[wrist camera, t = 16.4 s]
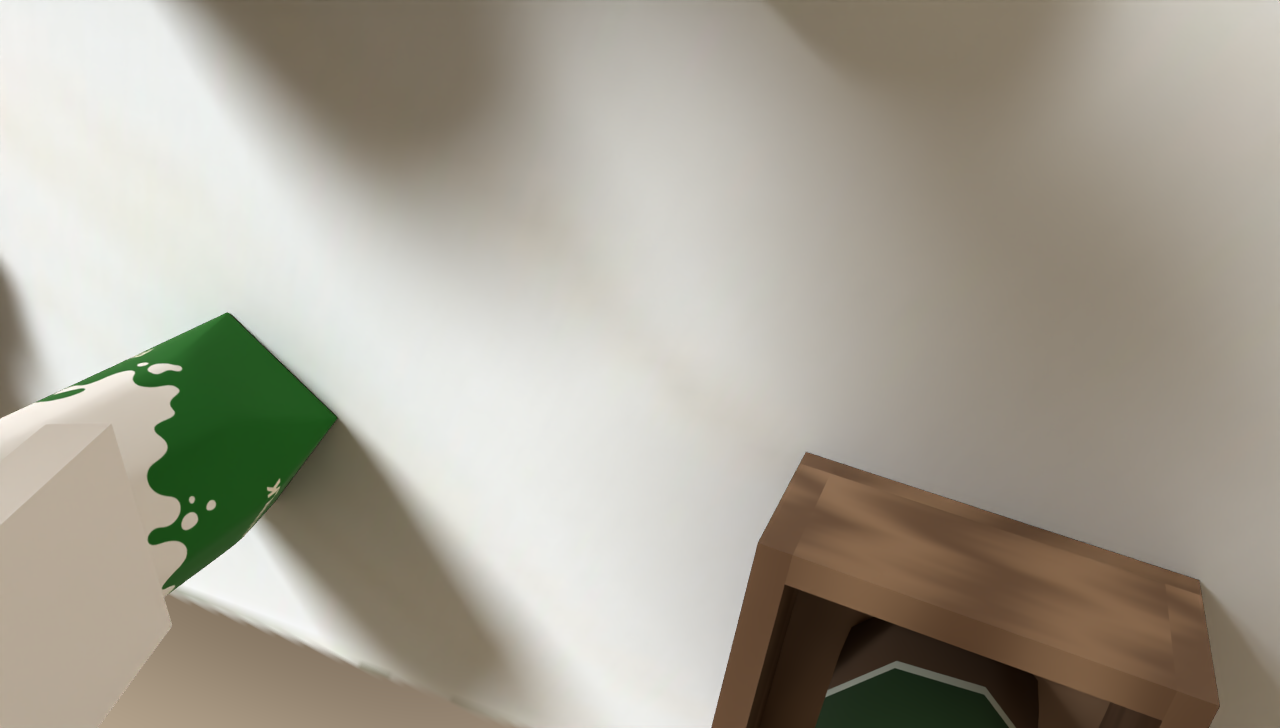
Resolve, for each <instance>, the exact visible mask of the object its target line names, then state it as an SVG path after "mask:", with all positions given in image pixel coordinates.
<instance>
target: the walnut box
mask: <svg viewBox="0 0 1280 728" xmlns="http://www.w3.org/2000/svg"><path fill="white" fill-rule="evenodd" d="M872 617H876V618H879V619H882V620H885V621H888V622H890V623H893V624H896V625H899V626H901V627H904V628H907V629H910V630H912V631H915V632H918V633H921V634H924V635H926V636H929V637H932V638H935V639H937V640H940V641H943V642H946V643H948V644H951V645H954V646H957V647H959V648H962V649H965V650H968V651H971V652H973V653H976V654H979V655H982V656H984V657H987V658H990V659H993V660H995V661H998V662H1001V663H1004V664H1007V665H1009V666H1012V667H1015V668H1018V669H1020V670H1023V671H1026V672H1029V673H1031V674H1033V675H1034V676H1035V678H1036V679H1037V680H1038V697H1039V719H1038V728H1209V726H1210V724H1211V722H1212V720H1213V718H1214V716H1215V714H1216V712H1217V711H1218V709H1219V707H1220V704H1219V698H1218V691H1217V685H1216V679H1215V673H1214V667H1213V661H1212V655H1211V649H1210V643H1209V637H1208V631H1207V625H1206V618H1205V612H1204V606H1203V600H1202V594H1201V588H1200V582H1199V580H1197V579H1194V578H1191V577H1188V576H1185V575H1182V574H1179V573H1175V572H1172V571H1169V570H1166V569H1163V568H1160V567H1157V566H1154V565H1151V564H1148V563H1145V562H1142V561H1139V560H1136V559H1133V558H1129V557H1126V556H1123V555H1120V554H1117V553H1114V552H1111V551H1108V550H1105V549H1102V548H1099V547H1096V546H1093V545H1090V544H1087V543H1083V542H1080V541H1077V540H1074V539H1071V538H1068V537H1065V536H1062V535H1059V534H1056V533H1053V532H1050V531H1047V530H1044V529H1040V528H1037V527H1034V526H1031V525H1028V524H1025V523H1022V522H1019V521H1016V520H1013V519H1010V518H1007V517H1004V516H1001V515H998V514H994V513H991V512H988V511H985V510H982V509H979V508H976V507H973V506H970V505H967V504H964V503H961V502H958V501H955V500H952V499H948V498H945V497H942V496H939V495H936V494H933V493H930V492H927V491H924V490H921V489H918V488H915V487H912V486H909V485H905V484H902V483H899V482H896V481H893V480H890V479H887V478H884V477H881V476H878V475H875V474H872V473H869V472H866V471H863V470H859V469H856V468H853V467H850V466H847V465H844V464H841V463H838V462H835V461H832V460H829V459H826V458H823V457H820V456H817V455H813V454H810V453H807V452H806V453H805V455H804V457H803V458H802V460H801V462H800V464H799V466H798V468H797V470H796V472H795V474H794V475H793V477H792V479H791V481H790V483H789V485H788V487H787V489H786V491H785V493H784V494H783V496H782V498H781V500H780V502H779V504H778V506H777V508H776V510H775V512H774V513H773V515H772V517H771V519H770V521H769V523H768V525H767V527H766V529H765V531H764V532H763V534H762V536H761V538H760V540H759V542H758V545H757V549H756V553H755V557H754V561H753V565H752V569H751V573H750V577H749V580H748V584H747V588H746V592H745V596H744V600H743V604H742V608H741V612H740V616H739V620H738V624H737V628H736V632H735V636H734V640H733V644H732V648H731V652H730V656H729V660H728V664H727V668H726V672H725V676H724V680H723V684H722V688H721V692H720V696H719V700H718V704H717V708H716V712H715V716H714V720H713V723H712V727H711V728H815V726H816V723H817V720H818V717H819V714H820V711H821V708H822V705H823V702H824V699H825V696H826V693H827V690H828V687H829V685H830V682H831V679H832V676H833V673H834V670H835V667H836V664H837V661H838V658H839V655H840V652H841V650H842V647H843V645H844V643H845V641H846V639H847V636H848V634H849V632H850V630H851V627H853V626H855V625H857V624H859V623H861V622H863V621H866V620H868V619H870V618H872Z"/></svg>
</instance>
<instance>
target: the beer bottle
mask: <svg viewBox="0 0 1280 728" xmlns="http://www.w3.org/2000/svg"><path fill="white" fill-rule="evenodd" d="M1038 719H1039V697H1038V680H1037V679H1036V678H1035V676H1034V675H1033V674H1031V673H1029V672H1026V671H1023V670H1020V669H1018V668H1015V667H1012V666H1009V665H1007V664H1004V663H1001V662H998V661H995V660H993V659H990V658H987V657H984V656H982V655H979V654H976V653H973V652H971V651H968V650H965V649H962V648H959V647H957V646H954V645H951V644H948V643H946V642H943V641H940V640H937V639H935V638H932V637H929V636H926V635H924V634H921V633H918V632H915V631H912V630H910V629H907V628H904V627H901V626H899V625H896V624H893V623H890V622H888V621H885V620H882V619H879V618H876V617H872V618H870V619H868V620H866V621H863V622H861V623H859V624H857V625H855V626H853V627H851V630H850V632H849V634H848V636H847V639H846V641H845V643H844V645H843V647H842V650H841V652H840V655H839V658H838V661H837V664H836V667H835V670H834V673H833V676H832V679H831V682H830V685H829V687H828V690H827V693H826V696H825V699H824V702H823V705H822V708H821V711H820V714H819V717H818V720H817V723H816V726H815V728H1038Z"/></svg>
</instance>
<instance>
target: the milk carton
mask: <svg viewBox="0 0 1280 728" xmlns="http://www.w3.org/2000/svg"><path fill="white" fill-rule="evenodd" d="M336 420H337V417H336V416H335V415H334V414H333V413H332V412H331V411H330V410H329V409H328V408H327V407H325V406H324V405H323V404H322V403H321V402H320V401H319V400H318V399H317V398H316V397H315V396H314V395H313V394H312V393H311V392H310V391H309V390H308V389H307V388H306V387H305V386H304V385H303V384H302V383H301V382H300V381H299V380H298V379H296V378H295V377H294V376H293V375H292V374H291V373H290V372H289V371H288V370H287V369H286V368H285V367H284V366H283V365H282V364H281V363H280V362H279V361H278V360H277V359H276V358H275V357H274V356H273V355H272V354H271V353H270V352H269V351H267V350H266V349H265V348H264V347H263V346H262V345H261V344H260V343H259V342H258V341H257V340H256V339H255V338H254V337H253V336H252V335H251V334H250V333H249V332H248V331H247V330H246V329H245V328H244V327H243V326H242V325H241V324H239V323H238V322H237V321H236V320H235V319H234V318H233V317H232V316H231V315H230V314H229V313H228V312H227V313H225V314H223V315H221V316H219V317H217V318H215V319H212V320H210V321H208V322H206V323H204V324H202V325H200V326H197V327H195V328H193V329H191V330H189V331H187V332H185V333H183V334H180V335H178V336H176V337H174V338H172V339H170V340H168V341H166V342H163V343H161V344H159V345H157V346H155V347H153V348H151V349H149V350H146V351H144V352H142V353H140V354H138V355H136V356H134V357H132V358H129V359H127V360H125V361H123V362H121V363H119V364H117V365H115V366H113V367H110V368H108V369H106V370H104V371H102V372H100V373H97V374H95V375H93V376H91V377H89V378H87V379H85V380H82V381H80V382H78V383H76V384H74V385H72V386H69V387H67V388H65V389H63V390H61V391H59V392H57V393H54V394H52V395H50V396H48V397H46V398H44V399H41V400H39V401H37V402H35V403H33V404H31V405H29V406H26V407H24V408H22V409H20V410H18V411H16V412H13V413H11V414H9V415H7V416H5V417H3V418H0V462H1V461H2V460H3V459H4V458H5V457H7V456H8V455H9V454H10V453H11V452H13V451H14V450H15V449H16V448H17V447H19V446H20V445H21V444H22V443H23V442H25V441H26V440H27V439H28V438H30V437H31V436H32V435H33V434H34V433H36V432H37V431H38V430H39V429H40V428H42V427H43V426H44V425H45V424H102V423H112V426H113V430H114V433H115V436H116V440H117V443H118V447H119V450H120V453H121V456H122V460H123V463H124V467H125V470H126V473H127V477H128V480H129V483H130V487H131V490H132V493H133V497H134V500H135V503H136V507H137V510H138V513H139V517H140V520H141V523H142V527H143V530H144V533H145V537H146V540H147V543H148V547H149V550H150V553H151V557H152V560H153V563H154V567H155V570H156V573H157V577H158V580H159V583H160V587H161V590H162V593H163V597H165V596H166V595H168V594H169V593H170V592H172V591H173V590H174V589H176V588H177V587H179V586H180V585H181V584H183V583H184V582H185V581H187V580H188V579H189V578H191V577H192V576H193V575H195V574H196V573H197V572H199V571H200V570H201V569H203V568H204V567H205V566H207V565H208V564H210V563H211V562H212V561H214V560H215V559H216V558H218V557H219V556H220V555H222V554H223V553H224V552H226V551H227V550H228V549H230V548H231V547H232V546H233V545H235V544H236V543H237V542H238V541H239V540H240V539H242V538H243V537H244V536H245V535H246V533H247V532H248V531H249V530H250V529H251V528H252V527H253V526H254V525H255V523H256V522H257V521H258V520H259V519H260V518H261V517H262V516H263V515H264V513H265V512H266V511H267V510H268V509H269V508H270V507H271V506H272V504H273V503H274V502H275V501H276V500H277V498H278V497H279V496H280V494H281V493H282V492H283V490H284V489H285V488H286V486H287V485H288V484H289V482H290V481H291V480H292V478H293V477H294V476H295V474H296V473H297V472H298V470H299V469H300V468H301V466H302V465H303V464H304V462H305V461H306V460H307V458H308V457H309V456H310V454H311V453H312V452H313V450H314V449H315V448H316V446H317V445H318V444H319V442H320V441H321V440H322V438H323V437H324V436H325V434H326V433H327V432H328V430H329V429H330V428H331V426H332V425H333V424H334V422H335V421H336Z"/></svg>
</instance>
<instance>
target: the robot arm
mask: <svg viewBox="0 0 1280 728" xmlns="http://www.w3.org/2000/svg"><path fill="white" fill-rule="evenodd" d="M171 627H172V624H171V620H170V617H169V613H168V610H167V607H166V603H165V600H164V597H163V593H162V590H161V587H160V583H159V580H158V577H157V573H156V570H155V567H154V563H153V560H152V557H151V553H150V550H149V547H148V543H147V540H146V537H145V533H144V530H143V527H142V523H141V520H140V517H139V513H138V510H137V507H136V503H135V500H134V497H133V493H132V490H131V487H130V483H129V480H128V477H127V473H126V470H125V467H124V463H123V460H122V456H121V453H120V450H119V447H118V443H117V440H116V436H115V433H114V430H113V426H112V423H102V424H45V425H44V426H43V427H42V428H40V429H39V430H38V431H37V432H36V433H34V434H33V435H32V436H31V437H30V438H28V439H27V440H26V441H25V442H23V443H22V444H21V445H20V446H19V447H17V448H16V449H15V450H14V451H13V452H11V453H10V454H9V455H8V456H7V457H5V458H4V459H3V460H2V461H1V462H0V728H98V727H99V725H100V724H101V723H102V721H103V720H104V718H105V717H106V716H107V714H108V713H109V712H110V710H111V709H112V708H113V706H114V705H115V703H116V702H117V701H118V699H119V698H120V697H121V695H122V694H123V692H124V691H125V690H126V688H127V687H128V686H129V684H130V683H131V682H132V680H133V679H134V677H135V676H136V675H137V673H138V672H139V671H140V669H141V668H142V666H143V665H144V663H145V662H146V661H147V660H148V658H149V657H150V655H151V654H152V653H153V651H154V650H155V648H156V647H157V646H158V645H159V643H160V642H161V640H162V639H163V638H164V636H165V635H166V633H167V632H168V631H169V629H170V628H171Z"/></svg>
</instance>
